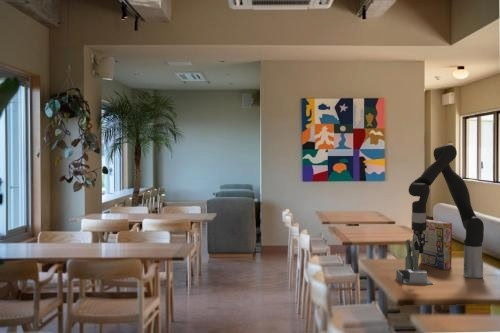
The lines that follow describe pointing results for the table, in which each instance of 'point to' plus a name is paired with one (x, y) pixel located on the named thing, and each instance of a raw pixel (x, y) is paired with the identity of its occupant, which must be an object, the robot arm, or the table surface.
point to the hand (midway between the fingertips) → (418, 251)
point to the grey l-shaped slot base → (402, 277)
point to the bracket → (411, 261)
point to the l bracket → (416, 276)
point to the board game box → (437, 244)
